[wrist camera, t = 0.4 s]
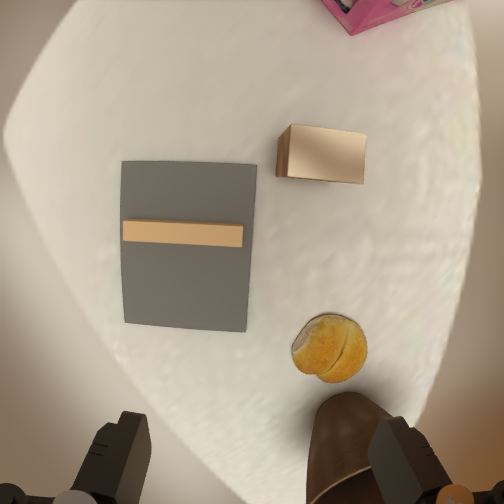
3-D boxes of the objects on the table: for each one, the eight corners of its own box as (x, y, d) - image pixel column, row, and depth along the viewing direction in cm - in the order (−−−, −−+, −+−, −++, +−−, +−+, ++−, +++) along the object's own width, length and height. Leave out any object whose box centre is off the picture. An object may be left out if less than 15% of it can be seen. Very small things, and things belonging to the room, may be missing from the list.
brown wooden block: (278, 138, 32) (291, 124, 23) (335, 144, 32) (366, 134, 23) (275, 176, 32) (287, 176, 24) (332, 181, 33) (363, 184, 24)
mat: (123, 161, 31) (115, 160, 29) (256, 165, 32) (257, 164, 30) (126, 320, 35) (119, 329, 33) (245, 329, 36) (245, 339, 34)
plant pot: (376, 441, 42) (410, 516, 26) (283, 450, 41) (296, 538, 25) (402, 365, 38) (460, 441, 23) (295, 372, 38) (321, 470, 22)
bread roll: (338, 382, 39) (346, 400, 35) (281, 356, 37) (285, 374, 34) (377, 332, 37) (389, 348, 33) (320, 300, 36) (329, 315, 32)
